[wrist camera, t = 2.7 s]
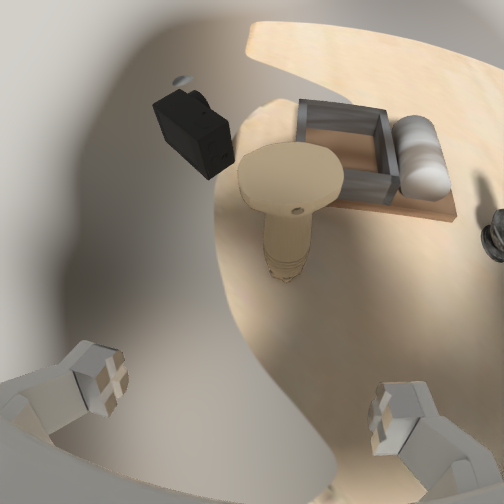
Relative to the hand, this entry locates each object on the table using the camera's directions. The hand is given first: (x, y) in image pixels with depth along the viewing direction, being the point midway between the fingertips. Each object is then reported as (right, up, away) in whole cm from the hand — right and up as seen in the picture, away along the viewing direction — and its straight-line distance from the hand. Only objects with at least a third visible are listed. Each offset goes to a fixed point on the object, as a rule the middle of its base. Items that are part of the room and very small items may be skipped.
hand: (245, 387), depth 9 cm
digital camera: (-6, +18, +31) cm, 37 cm away
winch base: (+15, +14, +28) cm, 35 cm away
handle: (+3, +2, +23) cm, 24 cm away
